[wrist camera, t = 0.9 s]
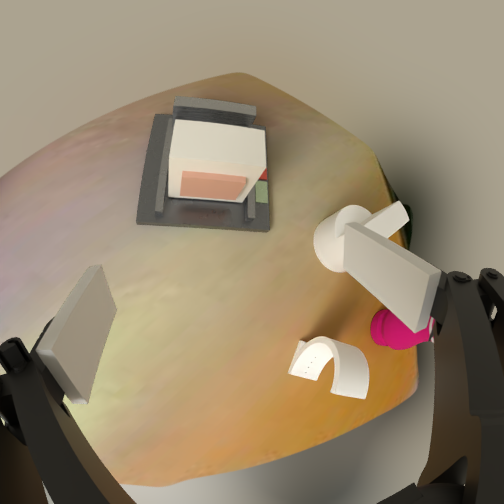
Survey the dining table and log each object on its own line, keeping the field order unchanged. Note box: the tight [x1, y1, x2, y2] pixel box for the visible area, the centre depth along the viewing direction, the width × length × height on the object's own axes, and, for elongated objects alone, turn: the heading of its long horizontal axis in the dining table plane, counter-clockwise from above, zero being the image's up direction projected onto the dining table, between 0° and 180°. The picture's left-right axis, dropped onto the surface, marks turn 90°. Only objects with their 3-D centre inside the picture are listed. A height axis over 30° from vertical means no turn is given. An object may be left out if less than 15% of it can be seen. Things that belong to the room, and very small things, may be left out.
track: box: [136, 96, 270, 232], centre depth 35 cm, size 18×18×6 cm
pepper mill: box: [371, 309, 435, 350], centre depth 32 cm, size 7×7×20 cm
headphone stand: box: [288, 336, 369, 399], centre depth 31 cm, size 5×6×12 cm
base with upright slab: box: [314, 201, 409, 273], centre depth 36 cm, size 9×9×12 cm
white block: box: [168, 119, 266, 203], centre depth 31 cm, size 10×6×10 cm, turn 90°
